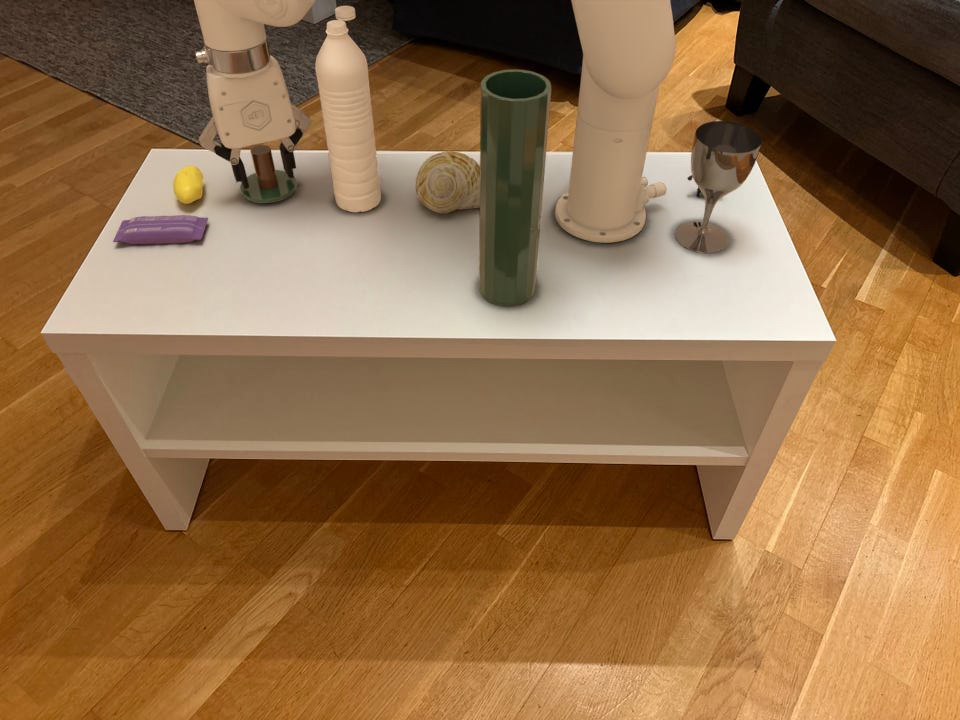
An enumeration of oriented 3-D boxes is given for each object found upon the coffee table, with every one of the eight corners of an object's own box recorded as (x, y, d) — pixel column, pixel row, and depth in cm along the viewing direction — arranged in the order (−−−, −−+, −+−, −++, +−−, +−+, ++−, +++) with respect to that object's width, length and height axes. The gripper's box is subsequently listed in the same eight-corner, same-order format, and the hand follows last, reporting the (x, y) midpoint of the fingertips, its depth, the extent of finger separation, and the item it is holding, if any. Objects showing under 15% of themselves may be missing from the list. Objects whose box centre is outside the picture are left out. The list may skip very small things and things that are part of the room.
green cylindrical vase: (518, 265, 96) (529, 64, 77) (544, 296, 92) (563, 92, 73) (469, 279, 94) (469, 77, 75) (494, 312, 90) (501, 106, 71)
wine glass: (660, 227, 102) (682, 127, 92) (709, 215, 104) (736, 116, 94) (692, 260, 97) (719, 158, 86) (742, 247, 99) (775, 146, 88)
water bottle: (375, 215, 104) (356, 34, 86) (330, 211, 104) (301, 31, 86) (388, 181, 110) (372, 6, 92) (346, 178, 110) (321, 4, 93)
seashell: (494, 176, 110) (493, 137, 100) (482, 235, 107) (480, 200, 97) (427, 167, 110) (420, 127, 101) (414, 224, 108) (405, 189, 98)
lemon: (211, 180, 109) (204, 157, 106) (202, 211, 104) (194, 187, 101) (182, 181, 109) (174, 158, 106) (171, 212, 103) (163, 188, 101)
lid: (289, 171, 112) (280, 131, 107) (304, 198, 107) (296, 156, 102) (236, 184, 109) (225, 143, 104) (249, 212, 104) (238, 170, 99)
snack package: (124, 226, 101) (114, 248, 98) (120, 214, 100) (109, 236, 96) (210, 223, 102) (203, 245, 99) (206, 211, 101) (199, 233, 97)
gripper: (174, 79, 88) (212, 206, 101) (313, 53, 94) (332, 177, 107) (163, 55, 93) (201, 180, 106) (296, 31, 99) (316, 153, 111)
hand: (266, 177), depth 106 cm, fingers open, 5 cm apart
